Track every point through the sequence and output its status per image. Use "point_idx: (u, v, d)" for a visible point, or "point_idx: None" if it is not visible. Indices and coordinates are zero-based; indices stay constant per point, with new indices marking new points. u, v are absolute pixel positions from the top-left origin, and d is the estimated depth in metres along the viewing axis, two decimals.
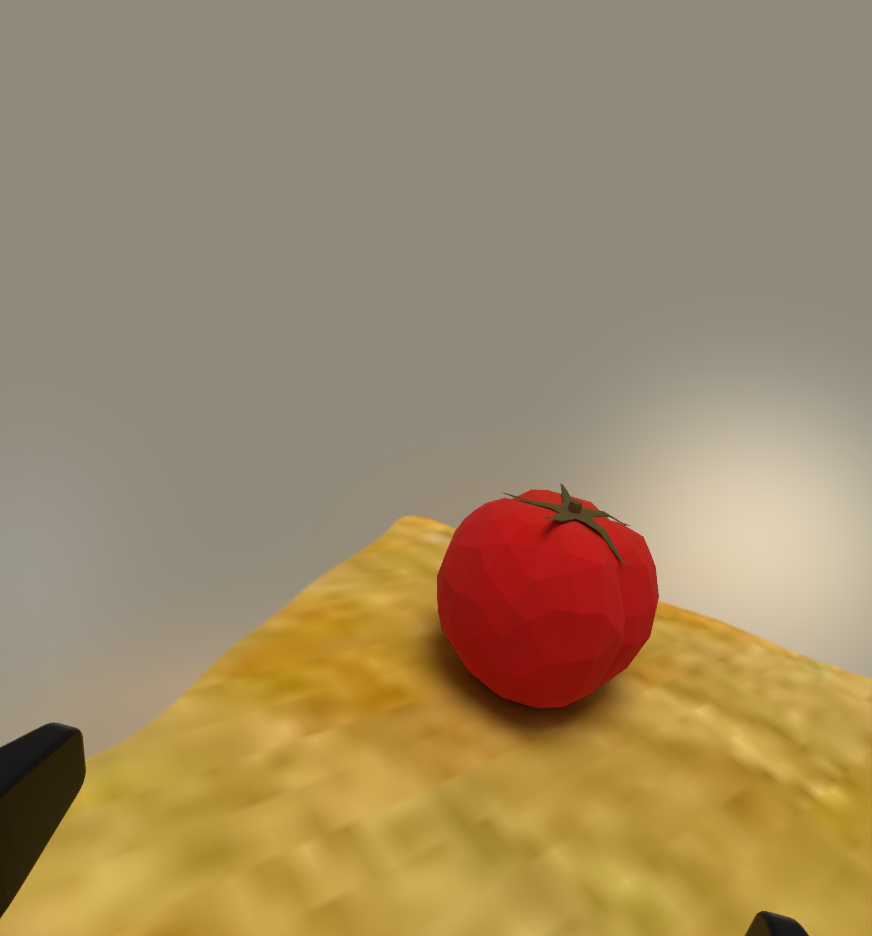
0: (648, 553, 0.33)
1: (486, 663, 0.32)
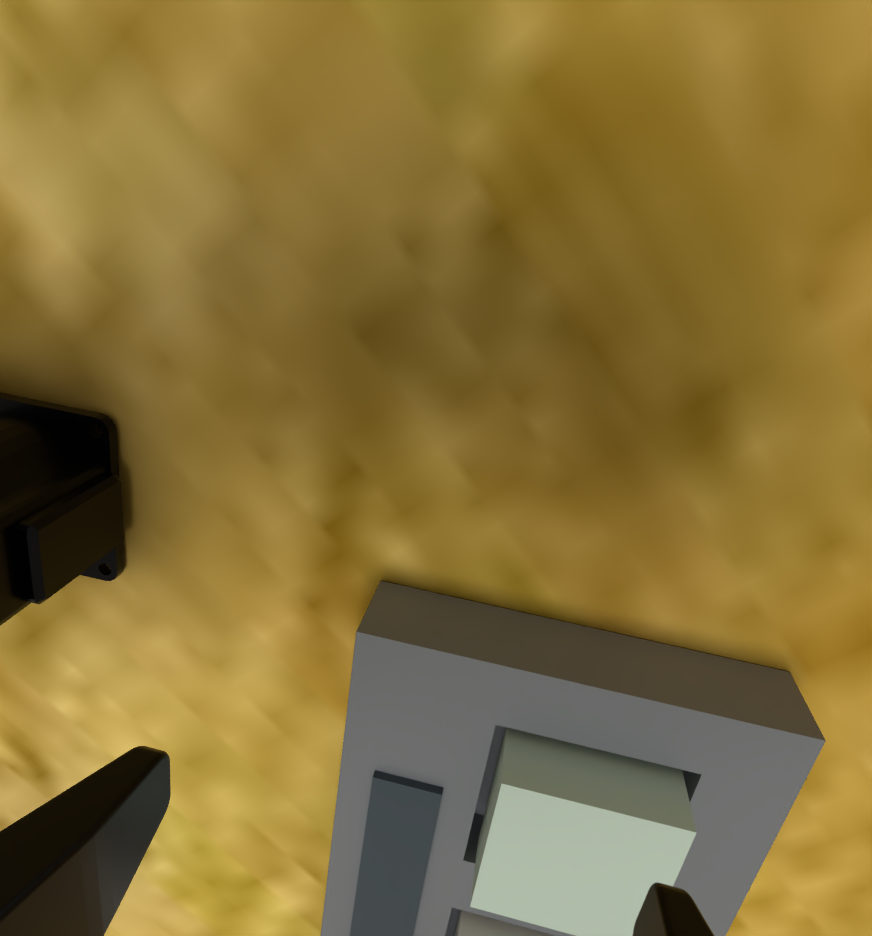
0: None
1: None
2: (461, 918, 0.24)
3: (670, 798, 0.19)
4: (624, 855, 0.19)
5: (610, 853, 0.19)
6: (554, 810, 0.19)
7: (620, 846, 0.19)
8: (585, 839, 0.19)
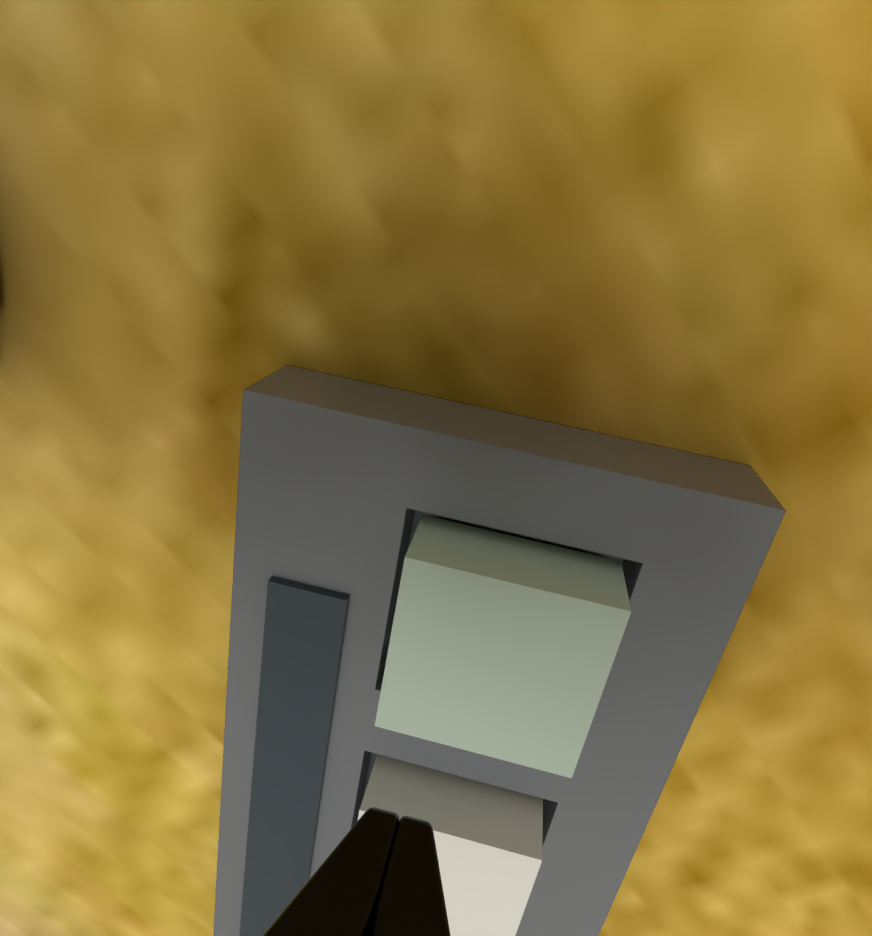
0: None
1: None
2: (375, 764, 0.21)
3: (604, 584, 0.16)
4: (548, 647, 0.16)
5: (532, 646, 0.16)
6: (466, 590, 0.16)
7: (543, 635, 0.16)
8: (502, 627, 0.16)
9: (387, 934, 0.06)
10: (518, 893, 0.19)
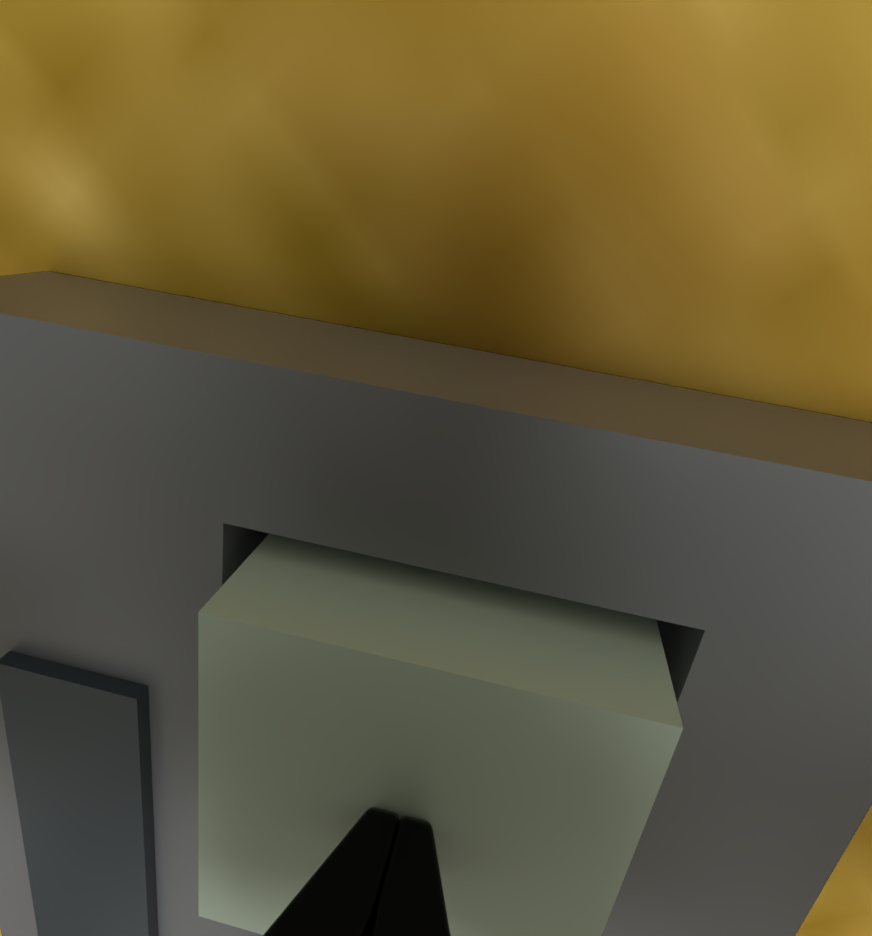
0: None
1: None
2: None
3: (621, 658, 0.08)
4: (506, 793, 0.08)
5: (473, 791, 0.08)
6: (330, 680, 0.07)
7: (495, 770, 0.08)
8: (411, 754, 0.08)
9: (387, 934, 0.06)
10: None
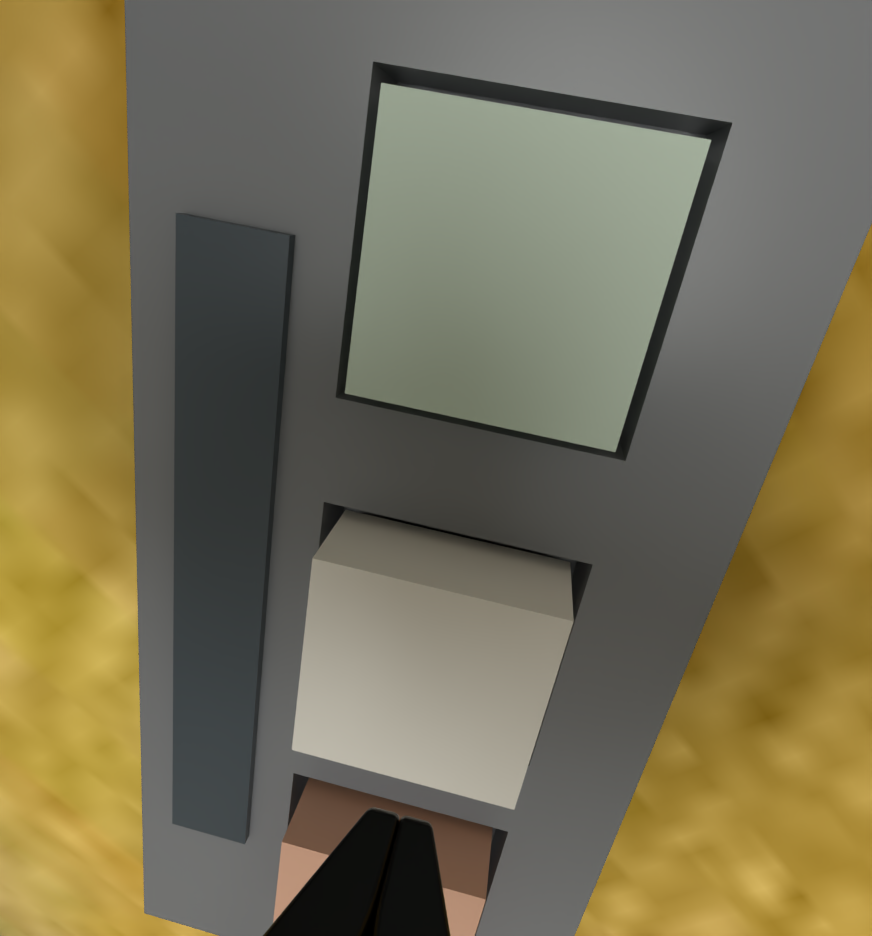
0: None
1: None
2: (339, 522, 0.15)
3: None
4: (587, 222, 0.11)
5: (563, 225, 0.11)
6: (470, 133, 0.11)
7: (580, 201, 0.11)
8: (521, 196, 0.11)
9: (387, 934, 0.06)
10: (538, 680, 0.14)
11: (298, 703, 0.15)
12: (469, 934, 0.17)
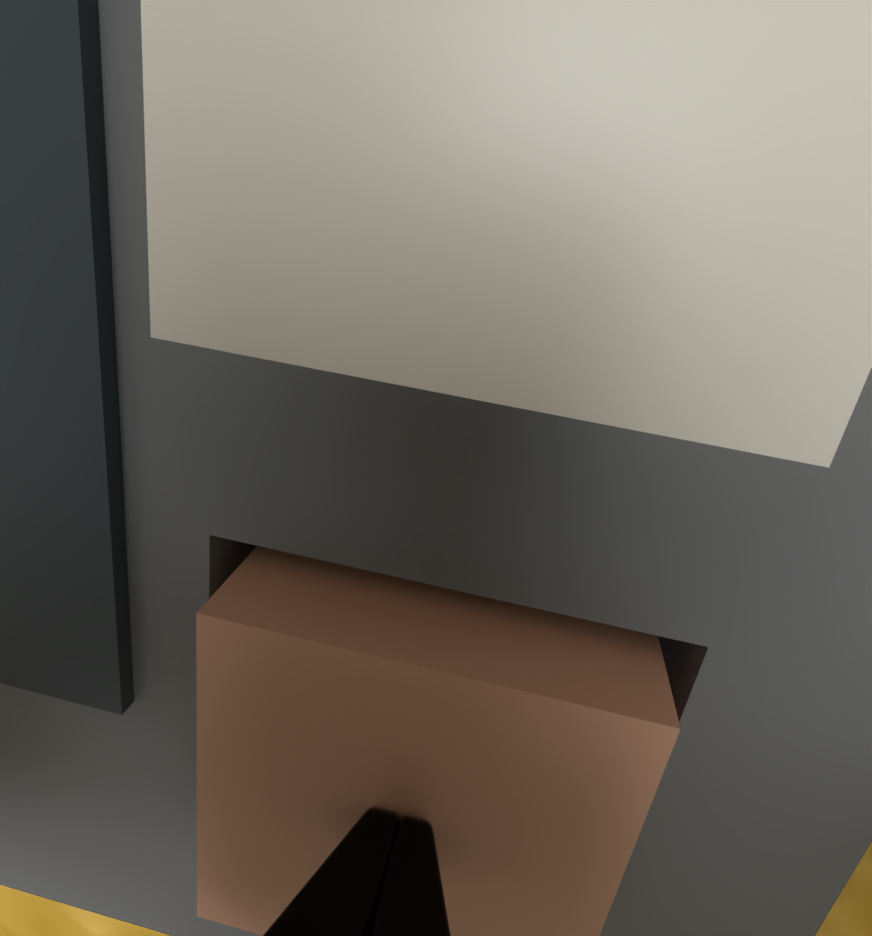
0: None
1: None
2: None
3: None
4: None
5: None
6: None
7: None
8: None
9: (387, 934, 0.06)
10: None
11: (150, 141, 0.05)
12: (629, 825, 0.07)
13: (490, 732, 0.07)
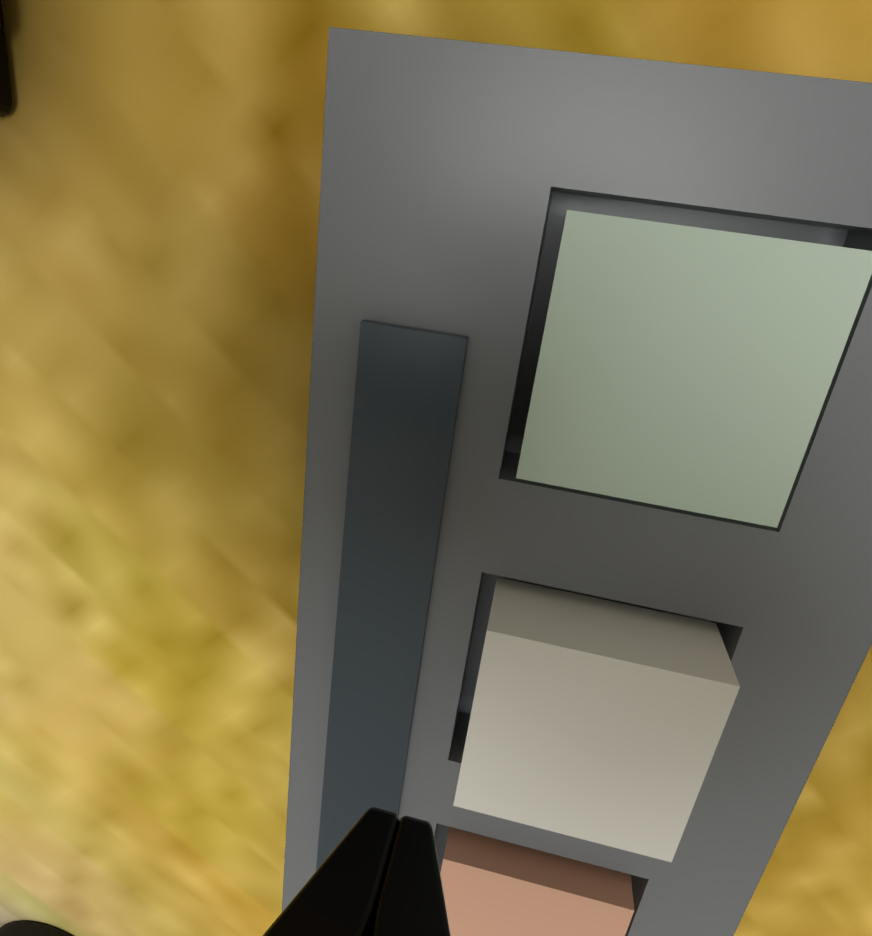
0: None
1: None
2: (495, 590, 0.16)
3: None
4: (757, 325, 0.12)
5: (734, 328, 0.12)
6: (649, 251, 0.12)
7: (752, 307, 0.12)
8: (695, 303, 0.12)
9: (387, 934, 0.06)
10: (701, 741, 0.14)
11: (463, 762, 0.16)
12: None
13: (560, 907, 0.19)
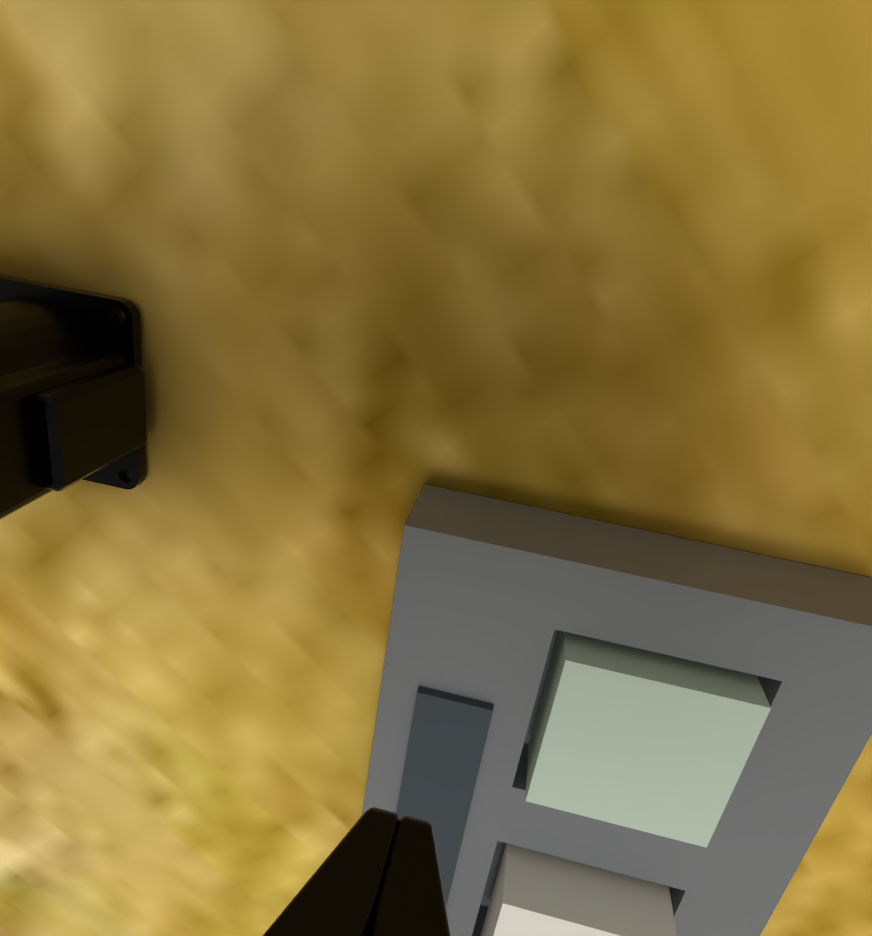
0: None
1: None
2: (507, 853, 0.22)
3: (739, 679, 0.18)
4: (692, 736, 0.18)
5: (677, 736, 0.18)
6: (620, 688, 0.18)
7: (688, 726, 0.18)
8: (651, 719, 0.18)
9: (387, 935, 0.06)
10: None
11: None
12: None
13: None
